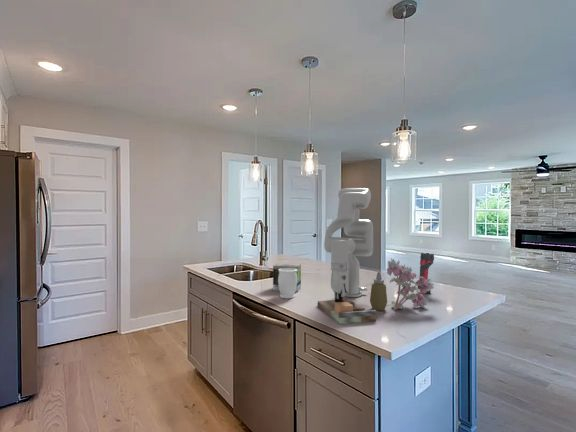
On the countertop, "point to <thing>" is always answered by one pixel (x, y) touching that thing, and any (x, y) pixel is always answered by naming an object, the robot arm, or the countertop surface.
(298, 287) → the tea box
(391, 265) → the flower
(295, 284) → the jar
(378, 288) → the squeeze bottle
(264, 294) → the countertop surface
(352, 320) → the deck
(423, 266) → the flashlight
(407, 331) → the countertop surface
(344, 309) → the block
